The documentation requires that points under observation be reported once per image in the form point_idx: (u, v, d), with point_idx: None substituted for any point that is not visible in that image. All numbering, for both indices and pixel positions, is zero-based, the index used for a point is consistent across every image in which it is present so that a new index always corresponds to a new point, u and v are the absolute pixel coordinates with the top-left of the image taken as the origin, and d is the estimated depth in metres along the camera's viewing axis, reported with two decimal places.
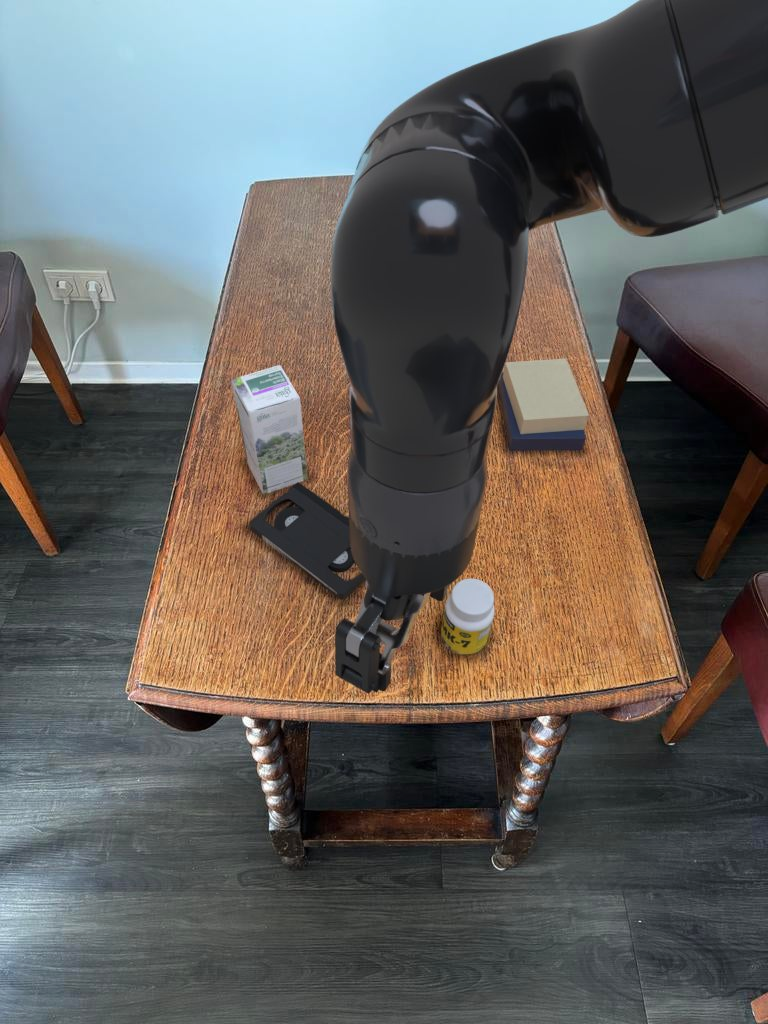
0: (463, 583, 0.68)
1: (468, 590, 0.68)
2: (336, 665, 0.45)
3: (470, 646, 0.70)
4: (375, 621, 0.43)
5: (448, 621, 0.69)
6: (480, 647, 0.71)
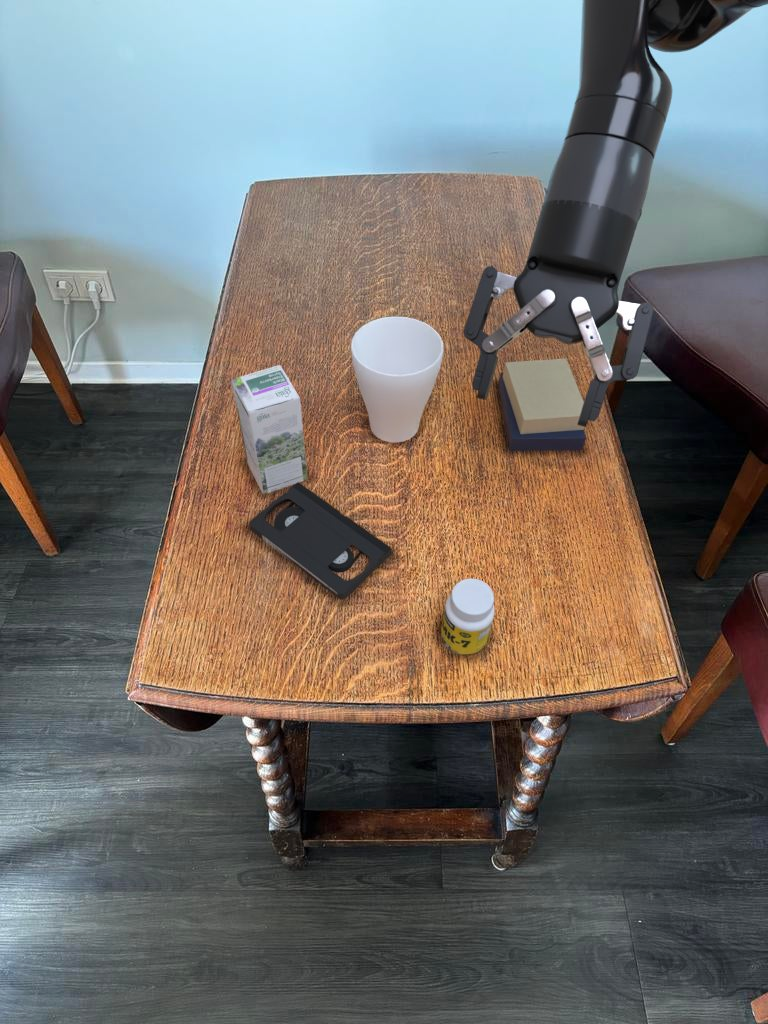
0: (463, 583, 0.68)
1: (468, 590, 0.68)
2: None
3: (470, 646, 0.70)
4: (506, 275, 0.59)
5: (448, 621, 0.69)
6: (480, 647, 0.71)
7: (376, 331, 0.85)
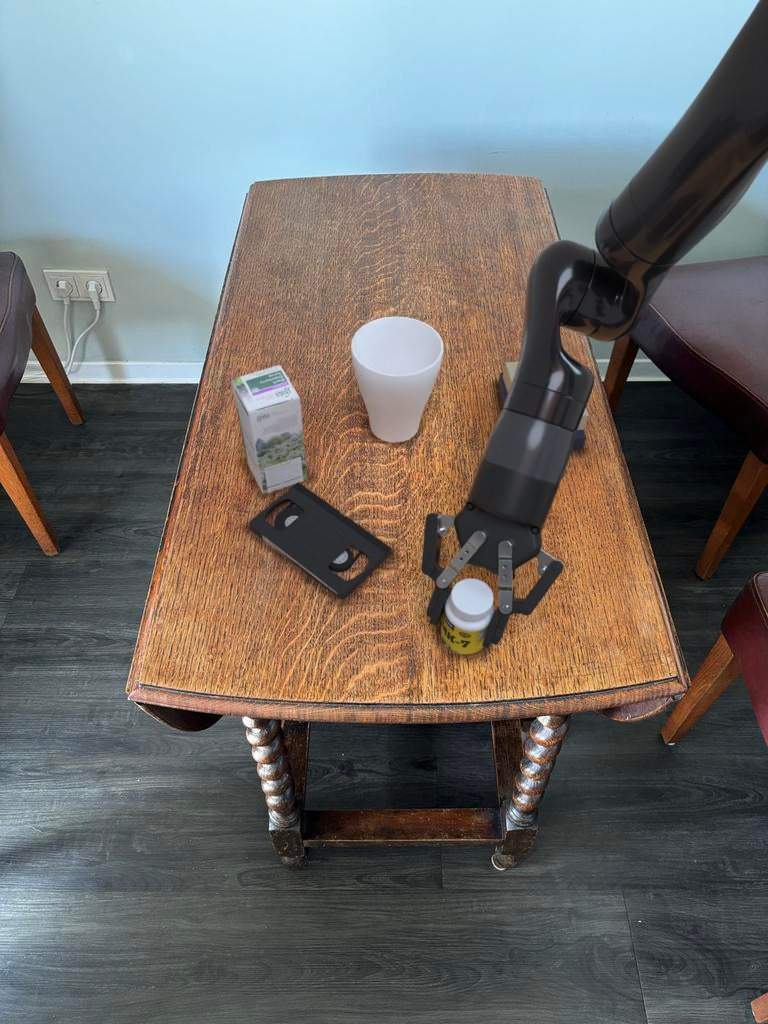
0: (462, 583, 0.68)
1: (467, 590, 0.68)
2: None
3: (470, 646, 0.70)
4: (446, 516, 0.69)
5: (448, 621, 0.69)
6: (480, 647, 0.71)
7: (376, 331, 0.85)
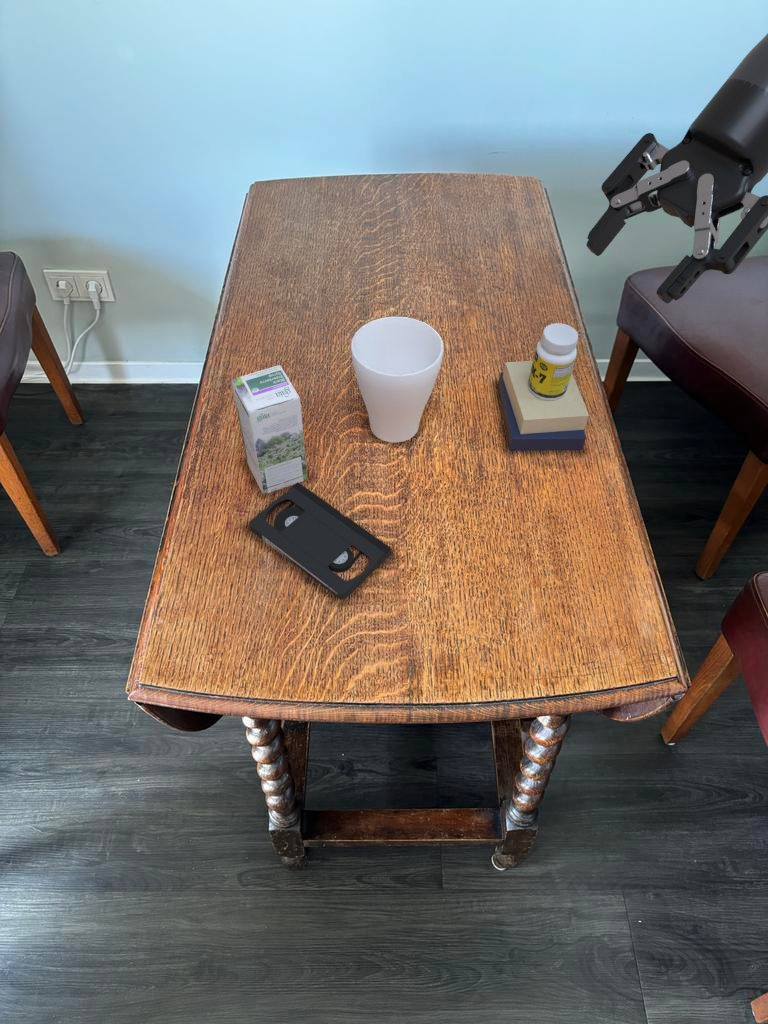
0: (558, 324, 0.83)
1: (559, 329, 0.83)
2: (621, 184, 0.67)
3: (545, 383, 0.85)
4: (663, 146, 0.63)
5: (535, 353, 0.85)
6: (554, 391, 0.86)
7: (376, 331, 0.85)
